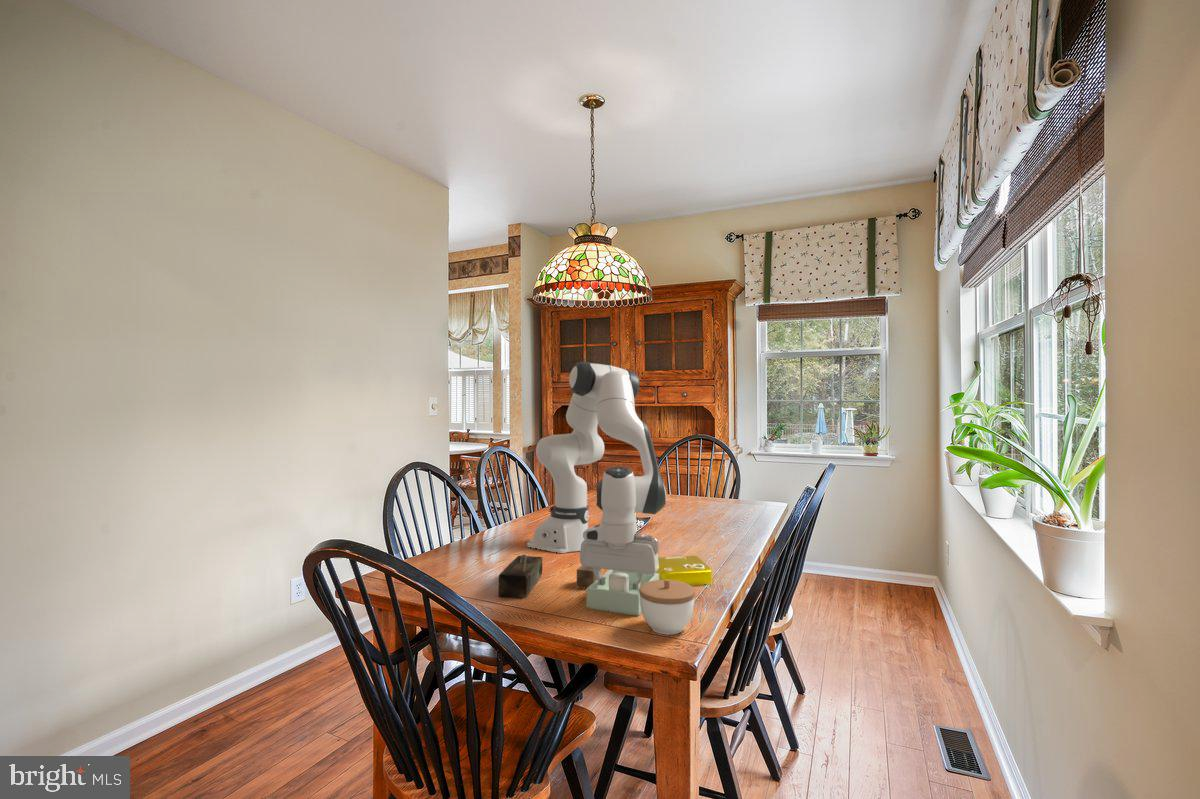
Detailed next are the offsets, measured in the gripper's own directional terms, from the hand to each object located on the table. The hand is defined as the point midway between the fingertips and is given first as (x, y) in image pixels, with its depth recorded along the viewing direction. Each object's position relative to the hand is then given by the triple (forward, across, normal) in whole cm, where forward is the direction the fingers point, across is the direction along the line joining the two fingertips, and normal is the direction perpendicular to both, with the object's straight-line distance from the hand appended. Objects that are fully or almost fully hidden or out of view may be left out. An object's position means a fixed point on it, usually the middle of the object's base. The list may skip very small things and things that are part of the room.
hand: (618, 587), depth 147 cm
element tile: (+5, -9, -27) cm, 29 cm away
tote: (+5, 0, -4) cm, 6 cm away
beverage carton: (+5, +30, -4) cm, 31 cm away
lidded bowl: (+5, -15, +9) cm, 18 cm away
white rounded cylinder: (+4, 0, 0) cm, 4 cm away
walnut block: (+5, +13, -11) cm, 18 cm away
